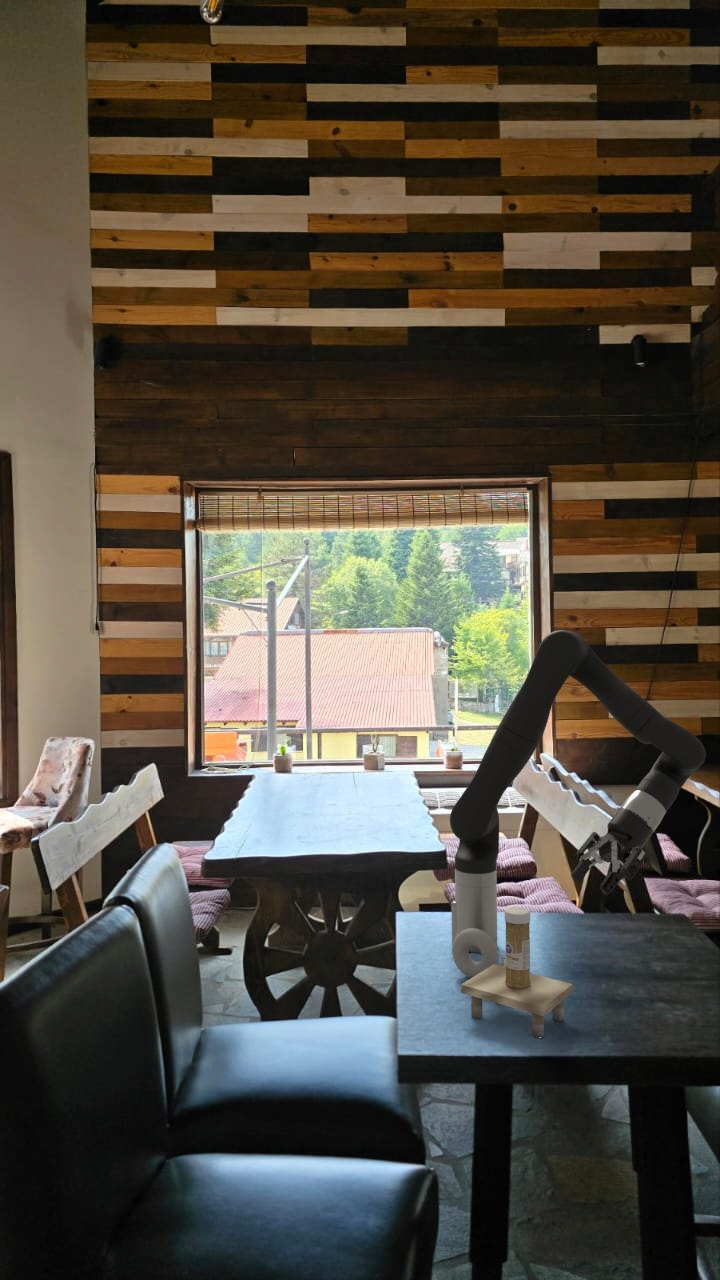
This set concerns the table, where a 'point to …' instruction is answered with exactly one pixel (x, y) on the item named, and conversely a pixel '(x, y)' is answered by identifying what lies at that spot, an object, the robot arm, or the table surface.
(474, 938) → the donut
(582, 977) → the table surface
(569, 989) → the small wooden stool
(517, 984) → the sprinkles bottle
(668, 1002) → the table surface
